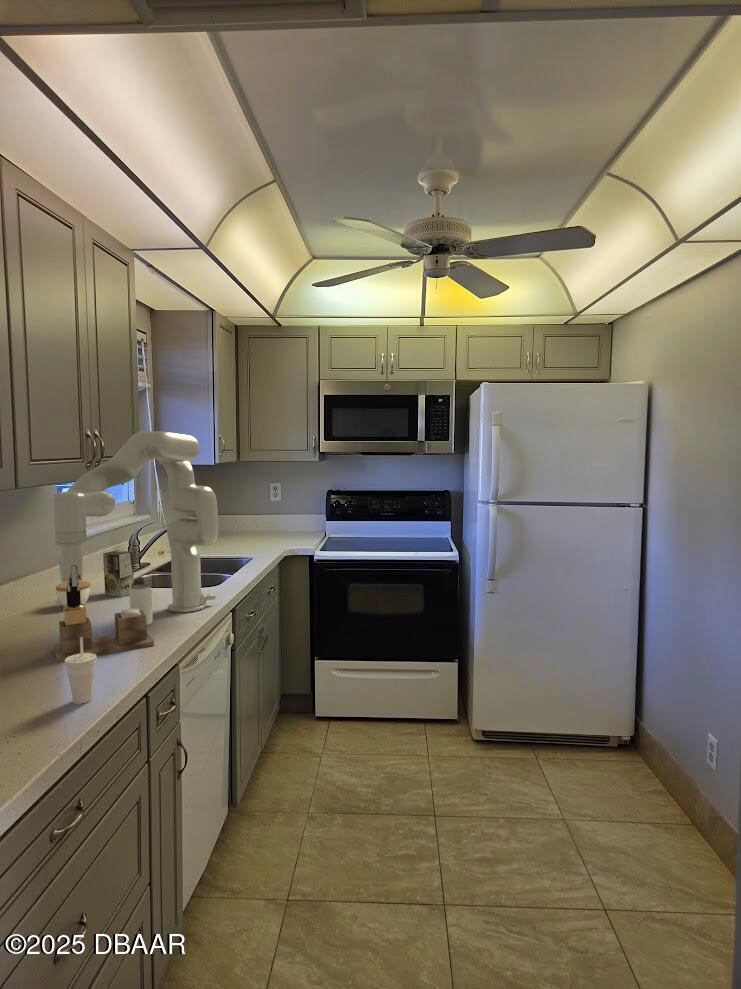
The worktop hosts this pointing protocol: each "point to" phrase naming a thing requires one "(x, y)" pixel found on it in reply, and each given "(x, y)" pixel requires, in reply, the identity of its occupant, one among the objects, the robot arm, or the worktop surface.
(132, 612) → the pale plunger
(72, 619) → the copper plunger
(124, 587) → the coffee box
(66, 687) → the worktop surface
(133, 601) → the can
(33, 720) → the worktop surface
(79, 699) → the smoothie
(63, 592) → the lidded jar
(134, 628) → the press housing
